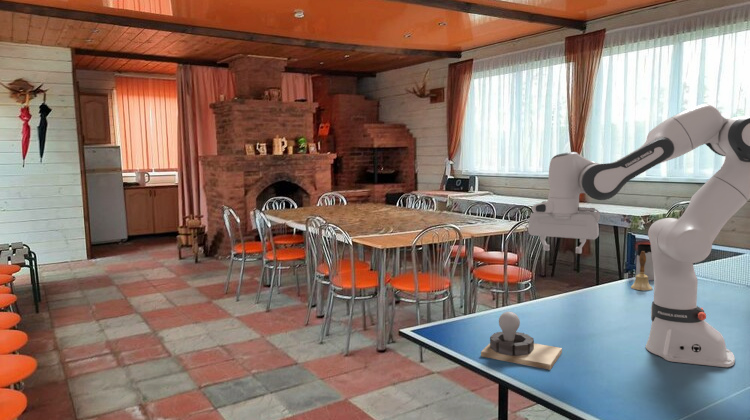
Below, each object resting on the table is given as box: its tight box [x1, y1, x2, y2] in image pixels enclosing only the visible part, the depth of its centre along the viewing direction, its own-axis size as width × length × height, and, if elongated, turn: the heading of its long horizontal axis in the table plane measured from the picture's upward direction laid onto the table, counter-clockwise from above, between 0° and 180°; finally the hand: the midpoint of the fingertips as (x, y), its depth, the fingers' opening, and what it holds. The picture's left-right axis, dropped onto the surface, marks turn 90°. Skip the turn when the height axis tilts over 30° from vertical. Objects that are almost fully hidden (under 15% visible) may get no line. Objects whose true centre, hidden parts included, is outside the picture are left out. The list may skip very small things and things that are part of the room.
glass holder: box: [634, 243, 654, 281], centre depth 249 cm, size 9×14×15 cm, turn 171°
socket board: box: [480, 331, 563, 371], centre depth 159 cm, size 20×14×4 cm
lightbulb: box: [498, 311, 521, 343], centre depth 160 cm, size 6×6×11 cm
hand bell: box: [630, 251, 654, 292], centre depth 229 cm, size 8×8×16 cm
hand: (562, 251), depth 164 cm, fingers open, 8 cm apart
